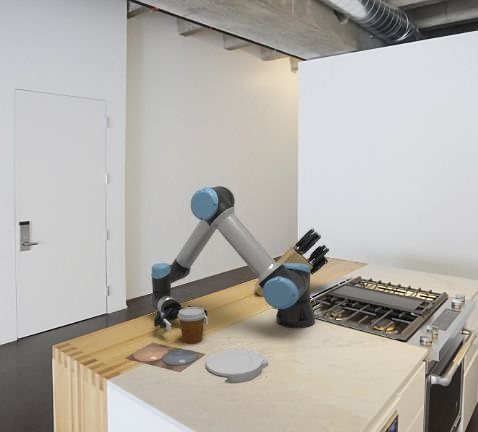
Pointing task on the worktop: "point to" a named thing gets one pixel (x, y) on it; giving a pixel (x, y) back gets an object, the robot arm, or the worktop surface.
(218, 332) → the worktop surface
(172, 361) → the slate disc
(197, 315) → the disposable coffee cup
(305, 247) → the knife block
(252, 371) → the lid
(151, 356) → the terracotta disc
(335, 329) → the worktop surface
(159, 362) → the walnut board
